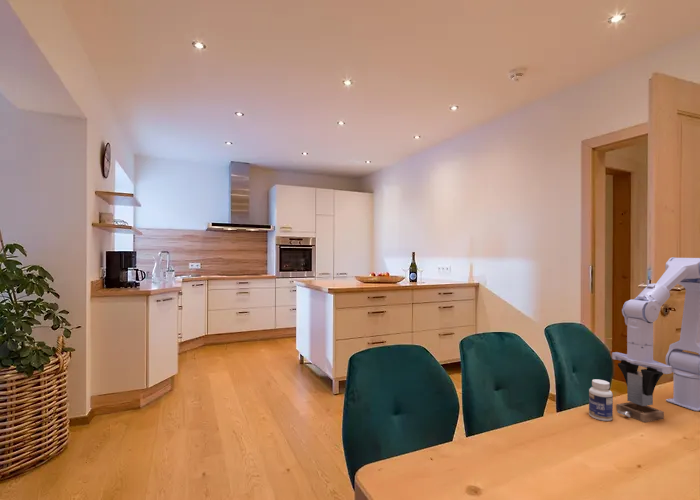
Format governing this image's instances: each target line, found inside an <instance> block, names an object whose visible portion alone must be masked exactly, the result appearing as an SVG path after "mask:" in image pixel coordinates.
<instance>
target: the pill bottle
mask: <svg viewBox="0 0 700 500" xmlns="http://www.w3.org/2000/svg"><path fill="white" fill-rule="evenodd" d="M610 385H611V384H610V382H609V381H607V380H604V379H594V378H593V379H592V380H591V387H590V388H588V414H589V416H590V417H592V418H593V419H596V420H599V421H601V422H609V421H612V420H613V418H614V417H613V411H614V409H613V407H614V405H613V403H614V402H613V401H614V399H613V398H614V395H613V392H612V391H611V390H610V388H611V386H610Z"/></svg>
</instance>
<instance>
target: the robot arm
mask: <svg viewBox="0 0 700 500" xmlns="http://www.w3.org/2000/svg"><path fill="white" fill-rule="evenodd" d="M677 285H679V286H681V287H683V288H684V289H685V296H684V302H683V311H682V317H681V318H682V319H681V327H680V334H679V336H680V337H679V340H678V341H676V342H673V343H670V344H669V347H668V350H667V353H666V355H665V357H664V358H665V363H663V362H661V361H660V362H659V361H658V360H656V359H655V360H654V322H656V321H657V320H658V318H659V315H660V312H661V309H662V308H661V307H662V306H663V305H665V303H666V302H667V301H668V300H669V299H670V297H671V293H670V291H671V290H672V289H673V288H675V287H676V286H677ZM621 314H622V316H623V317H624V323H625V326H627V327H626V333H627V334H626V336H627V337H626V342H627V343H626V346H627V347H626V349H627V350H626V353H622V352H618V351H615V352H611V356H612V357H611V358H612V360H616V361H620V362H618V363H617V366H618V368H619V370H620V371H621V373H622V374H623V378H624V380H625V383H626V385H627V372H634V371H639V369H638V368H639V367H643V368H642V369H640V372H641V373H642V376H643V380H644V393H645V395H647V396H650V395H653V396H654V391H655V389H656V386H657V384H658V381H660V379H661V377H662V376H663V375H668V374H669V375H670V374H672V373H673V397H672V398H666V399H665V401H666V402H668V403H671V404H674V405H677V406H680V407H683V408H686V409H689V410H691V411H694V412H700V257H675V256H674V257H673V256H672V257H669V258H668V260H667V261H666V262H665V270H664V272H663V274H662V275H661V276H660V277H659V279H658V280H657V282H656V283H655V282H654V283H648V284H647V285H646V287H644V288H643V290H642V291H640V293H639V294H638V295H637V296H636V297H635V298H634V299H629V300H626V301H625V302H624V304H623V306H622V308H621Z"/></svg>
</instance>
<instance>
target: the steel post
mask: <svg viewBox="0 0 700 500" xmlns="http://www.w3.org/2000/svg"><path fill="white" fill-rule="evenodd" d="M626 387H627V391H626V392H627V393H626V394H627V395H626V396H627V397H626V398H627V402H632V403H635V404H638V405H640V406H651V405H654V404H653V403H654V399H653V398H654V394H653V395H650V396H647V395H645V393H644V380H643V376H642V373H641V371H640V370H637V371H634V372H627V384H626Z"/></svg>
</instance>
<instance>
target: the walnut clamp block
mask: <svg viewBox="0 0 700 500" xmlns="http://www.w3.org/2000/svg"><path fill="white" fill-rule="evenodd" d="M616 412H617V414H619V415H623V416H625V417H628V418H632V419H634V420H638V421H640V422H642V423H649V422H655V421H656V422H657V421H660V420H665V412H664V411H663V410H660V409H657V408H654V407H652V406H651V405H647V406H640V405H638V404H635V403H632V402H630V401H627V402H622V403H616Z"/></svg>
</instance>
